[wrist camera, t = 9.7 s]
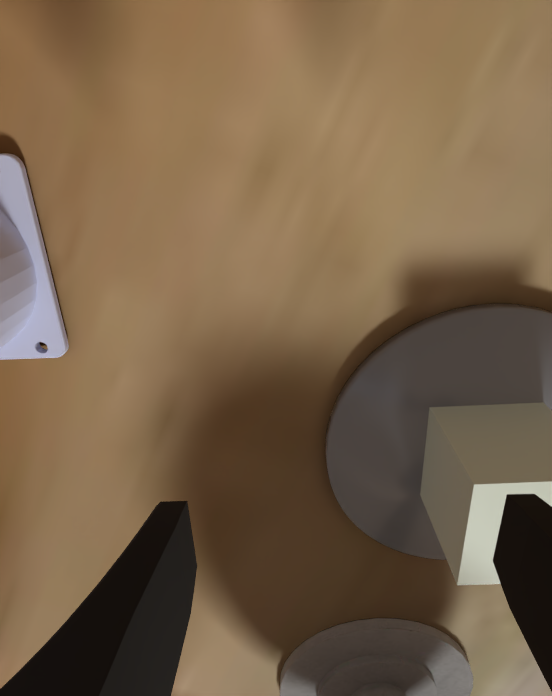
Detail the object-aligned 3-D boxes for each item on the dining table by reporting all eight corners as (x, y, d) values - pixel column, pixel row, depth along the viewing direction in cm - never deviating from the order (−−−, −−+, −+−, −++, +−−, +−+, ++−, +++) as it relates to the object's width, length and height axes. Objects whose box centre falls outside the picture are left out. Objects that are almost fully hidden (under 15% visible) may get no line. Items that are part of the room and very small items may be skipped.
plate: (324, 551, 25) (325, 564, 24) (326, 309, 19) (328, 316, 19) (582, 543, 25) (592, 556, 24) (662, 297, 19) (678, 303, 18)
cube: (420, 494, 23) (457, 585, 18) (429, 407, 20) (473, 484, 16) (523, 490, 22) (586, 580, 18) (543, 402, 20) (620, 478, 16)
